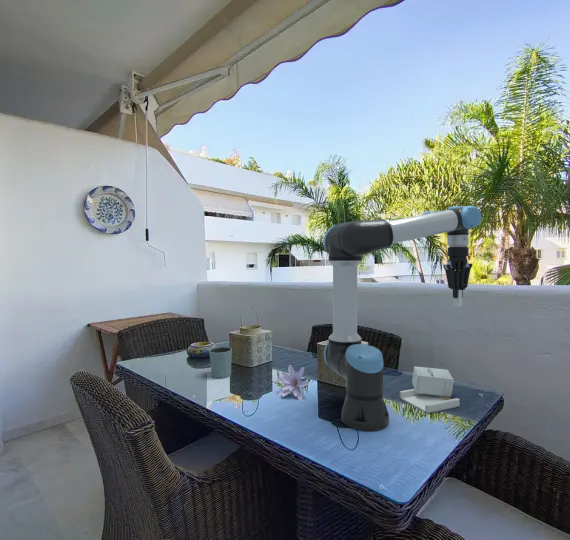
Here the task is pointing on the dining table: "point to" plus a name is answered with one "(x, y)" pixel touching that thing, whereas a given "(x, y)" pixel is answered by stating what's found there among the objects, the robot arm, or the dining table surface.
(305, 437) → the dining table surface
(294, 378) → the water lily
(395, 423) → the dining table surface
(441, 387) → the supplement box
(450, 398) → the stop batten
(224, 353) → the grey-green cup
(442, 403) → the cradle
